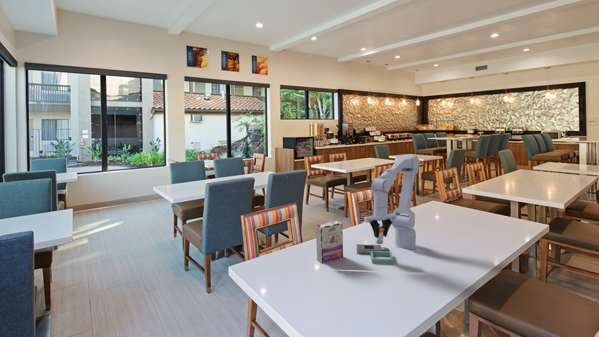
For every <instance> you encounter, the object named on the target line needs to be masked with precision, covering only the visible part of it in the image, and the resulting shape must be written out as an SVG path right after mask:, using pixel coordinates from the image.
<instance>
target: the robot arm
mask: <svg viewBox="0 0 599 337" xmlns="http://www.w3.org/2000/svg"><path fill="white" fill-rule="evenodd" d="M419 169H420V159H419V157H418V156H417V155H401V154H397V155H396V157H394V163H393V165H392V166H391V167H390V168H386V169H385V170H384V171H383V172H382V173H381V175H379V177H375V178H374V179H372V182H371V186H370V188H371V190H372V191H371V192H372V195H373V215H369V216H364V222H365V223H366V224H367V223H369V224H370V226H371V229H372V232H373V236H374V237H375V239H376V238H378V231H379V226H383V227H385V231H384V235H383V238H387V236H388V232H389V229H390V227H391V226H393V229H394V241H393V242H392V244H393V246H394V248H395V249H411V250H416V249H417V248H416V245H417V244H416V242H417V241H416V240H417V238H416V237H417V236H416V235H417V234H416V229H415V228H414V227H415V225H416V224H415V223H416V219H415V217H416V215H415V212H413V211H412V210H411V203H412V202H411V201H412V197H413V196H412V195H413V191H414V190H413V189H414V181H415V177H416V176H415V175H417V174H418V173H419ZM399 173H401V174H402V175H403V178H402V185H401V192H400V198H399V204H398V207H397V208H396V209H394V210H393V212H392V213H388V210H389V209H388V208H389V207H388V206H389V204H388V202H389V200H388V198H389V197H388V196H389V192H390V190H391V186H392V185H393V183H394V181H395V180H396V179H397V178H398V175H397V174H399ZM379 221H380V222H381V224H380V223H379Z"/></svg>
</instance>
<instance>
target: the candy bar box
mask: <svg viewBox="0 0 599 337" xmlns="http://www.w3.org/2000/svg"><path fill="white" fill-rule="evenodd" d="M343 238H344V237H343V222H341V221H338V220H334V221H328V222H323V223H318V224H316V225H315V240H316V243H315V244H316V260H317V262H319V263H321V264H324V263H326V262H327V263H328V262H331V261H334V260H338V259H342V258H344V243H343V242H344V241H343Z"/></svg>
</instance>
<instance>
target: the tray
mask: <svg viewBox="0 0 599 337" xmlns="http://www.w3.org/2000/svg"><path fill="white" fill-rule="evenodd" d="M375 256H376V257H377V256H378V257H379V256H380V258H375ZM381 257H389V258H381ZM370 261H371V264H384V265H385V264H387V265H394V263H395V259H394V256H393V253H392V251H390V252H388V251H371V254H370Z"/></svg>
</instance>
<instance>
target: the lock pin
mask: <svg viewBox="0 0 599 337" xmlns="http://www.w3.org/2000/svg"><path fill="white" fill-rule="evenodd" d="M384 231H385V227H383V226H382V225H379V231H378V238H376V237H375V243H376V245H382V244H383V243H384V236H383V235H384Z"/></svg>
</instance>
